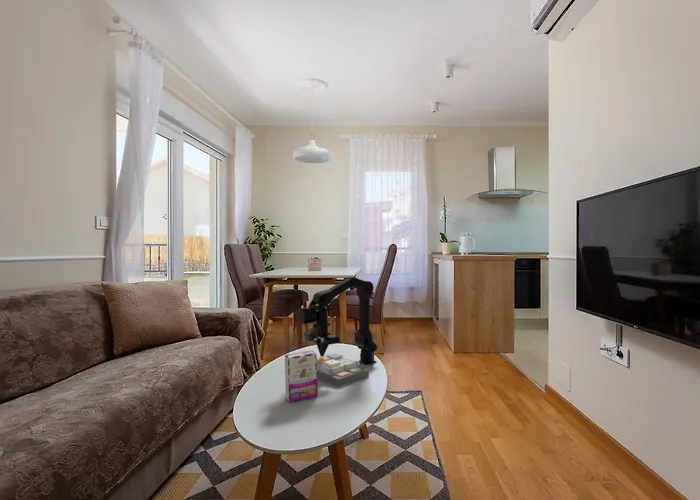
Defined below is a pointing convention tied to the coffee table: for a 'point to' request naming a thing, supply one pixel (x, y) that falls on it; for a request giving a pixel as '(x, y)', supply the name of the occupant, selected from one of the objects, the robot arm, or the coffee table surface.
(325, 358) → the peach flat square block
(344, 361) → the sage key
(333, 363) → the cream key
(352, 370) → the keypad
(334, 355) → the slate key
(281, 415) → the coffee table surface
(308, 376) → the candy bar box
